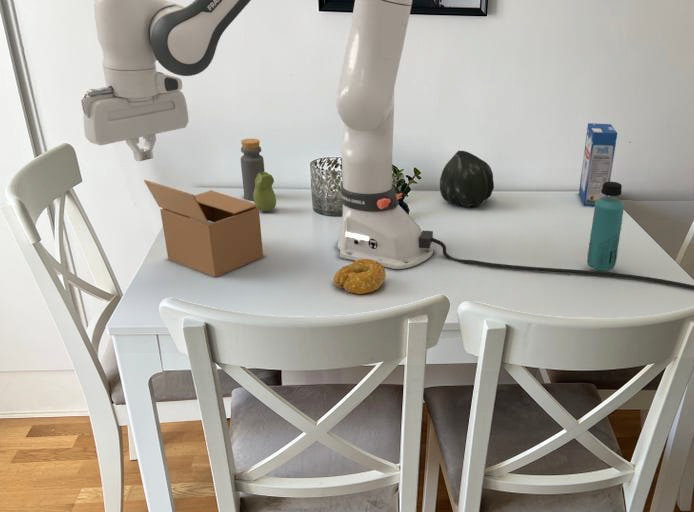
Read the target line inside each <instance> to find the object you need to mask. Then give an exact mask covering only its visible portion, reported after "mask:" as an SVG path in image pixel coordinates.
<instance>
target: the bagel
mask: <svg viewBox="0 0 694 512" xmlns="http://www.w3.org/2000/svg"><path fill="white" fill-rule="evenodd" d="M386 273H387V272H386V270H385V267H383V265H381V264H380V263H379V262H377V261H374V260H371V259H361V260H356V261H352V263H350V264H346V265H344V266H342V267H340V268H339V269H338V270H337V271H336V272H335V273H334V275H333V277H332V282H333V285H334V286H335V287H337V288H340V289H344V290H345V291H346V292H347V293H353V294H356V295H365V294H368V293H372V292H374V291H376V290H378V289H379V288H381V286H382V285H383V284H384V283H385V280H386V277H387V274H386Z"/></svg>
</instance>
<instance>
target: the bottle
mask: <svg viewBox="0 0 694 512" xmlns="http://www.w3.org/2000/svg"><path fill="white" fill-rule="evenodd" d="M260 143H261V141H260V139H258V138H243V139H241V140H240V144H241V147H240V152H241V153H242V154H243V155H242V156H241V157H240V168H241V177H242V189H243V196H244V199H246V200H247V201H254V198H253V193H254V189H255V178H256V177H257V174H259V172H266V171H265V162H264V156H262V155H261V154H260V153H261V152H262V147H261V146H260Z"/></svg>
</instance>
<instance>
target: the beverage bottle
mask: <svg viewBox="0 0 694 512" xmlns="http://www.w3.org/2000/svg"><path fill="white" fill-rule="evenodd" d="M622 188H623V185H622V183H620V182H617V181H610V182H605V183H604V184H603V187H602V191H601V192H602V194H604V195H608V196H604V197H601V198H600V199H598V200H597V201H596V202H595V207H594V208H593V209H594V210H593V216H592V223H591V228H590V229H591V230H590V235H589V236H590V237H589V242H588V248H587V256H586V263H587V266H588V267H589V268H591V269H593V270H595V271H611V270H613V269H615V266H616V265H617V264H616V263H617V260H618V254H619V252H618V251H619V247H620V246H619V245H620V239H621V237H620V236H621V231H622V227H623V226H622V224H623V216H624V210H625V204H624V202H623V201H622V200H621V199H620V198H619V197H618V196H621V195H622Z"/></svg>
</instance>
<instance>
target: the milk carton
mask: <svg viewBox="0 0 694 512" xmlns="http://www.w3.org/2000/svg"><path fill="white" fill-rule="evenodd" d="M617 139H618V132H617V130H616V129H615V127H613V125H612V123H594V122H593V123H591V122H588V123H587V128H586V135H585V143H584V150H583V158H582V167H581V174H580V175H581V176H580V181H579V189H578V197H579V199H580V201H581V203H582V206H583V207H593V208H595V202H596V201H597V200H598V199H600V198H601V197H604V196H608V195H604V194H602V192H601V191H602V187H603V184H604V183H605V182H611V177H612V173H613V172H612V171H613V164H614V157H615V151H616V146H617V145H616V144H617Z"/></svg>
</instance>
